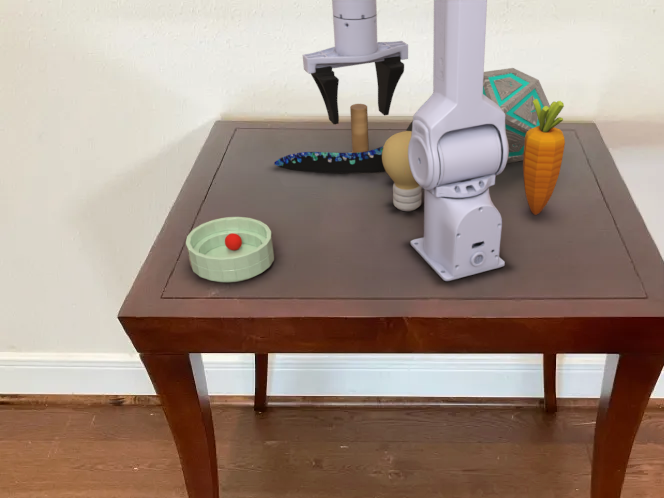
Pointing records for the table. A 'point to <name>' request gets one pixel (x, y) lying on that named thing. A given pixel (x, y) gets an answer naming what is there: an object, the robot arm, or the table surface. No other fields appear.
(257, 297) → the table surface
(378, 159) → the knife
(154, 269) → the table surface
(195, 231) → the bowl
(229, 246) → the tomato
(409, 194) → the light bulb
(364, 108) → the pestle
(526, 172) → the carrot
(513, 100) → the sculpture
